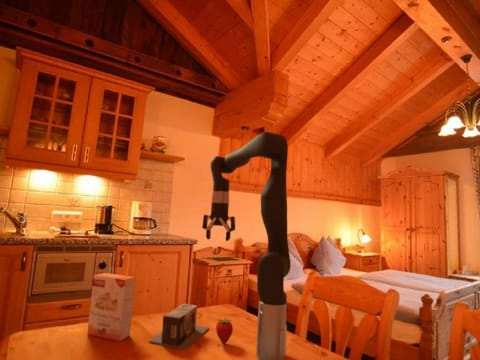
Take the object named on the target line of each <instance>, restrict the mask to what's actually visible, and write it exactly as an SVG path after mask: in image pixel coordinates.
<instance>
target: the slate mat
mask: <svg viewBox="0 0 480 360" xmlns="http://www.w3.org/2000/svg"><path fill="white" fill-rule="evenodd" d="M209 330H210V327H208V326H202V325H197V324H196V329H195V330H194V331H193V332H192V333H191V334H190V335H189V336H188V337H187V338H186V339H185V340H184V341H183V342H182V343H181V344H180V345H179V346H173V345H168V344H162V332H160V333H158V334H157V335H156V336H154V337H153V338H151V339H149V342H148V343H150V344H154V345H159V346H165V347H170V348H175V349H179V350H184V351H187V350H188V349H189V348H190V347H191V346H192V345H193V344H195V343H196V342H197V341H198V340H199V339H201V337H202V336H204V335H205V333H207V332H208V331H209Z"/></svg>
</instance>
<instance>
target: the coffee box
mask: <svg viewBox="0 0 480 360" xmlns="http://www.w3.org/2000/svg"><path fill="white" fill-rule="evenodd" d="M197 313H198V305H196V304H189V303H182V304H180V305H179V306H177V307H175V309H173V310H171V311H170V312H169V313H167V314H165V315H163V318H162V332H161V333H162V344H168V345H173V346H179V345H180V344H181V343H182V342H183V341H184V340H185V339H186V338H187V337H188V336H189V335H190V334H191V333H192V332H193V331H194V330H195V329H196V325H197Z"/></svg>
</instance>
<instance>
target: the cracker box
mask: <svg viewBox="0 0 480 360" xmlns="http://www.w3.org/2000/svg"><path fill="white" fill-rule="evenodd" d="M92 279H93V280H92V286H91V287H92V288H91V297H90V298H91V299H90V304H89V305H90V307H89V315H88V316H89V317H88V323H87V336H91V337H92V336H93V337H98V338H102V339H106V340H111V341H115V342H121V341H123V340H125V339H127V338H128V337H130V335H131V328H132V327H131V325H132V317H133V304H134V296H135V286H136V285H135V283H136V277H135V276H128V275H122V274H116V273H115V274H114V273H108V272H103V273H98V274H94V275H93V278H92Z"/></svg>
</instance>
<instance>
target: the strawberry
mask: <svg viewBox="0 0 480 360" xmlns="http://www.w3.org/2000/svg"><path fill="white" fill-rule="evenodd" d="M223 317H224V318H223V319H217V321H218V323H217V324H216V327H215V329H216V330H215V331H216V334H217V337H218V338H219V340H220V342H221V344H222V345H224V346H226V344H227V343H228V341H230V340H229V339H230V338H231V336H232V334H233V331H234V327H233V324H232V322H231V321H232V320H231V319H227V318H226V316H225V315H223Z"/></svg>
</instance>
